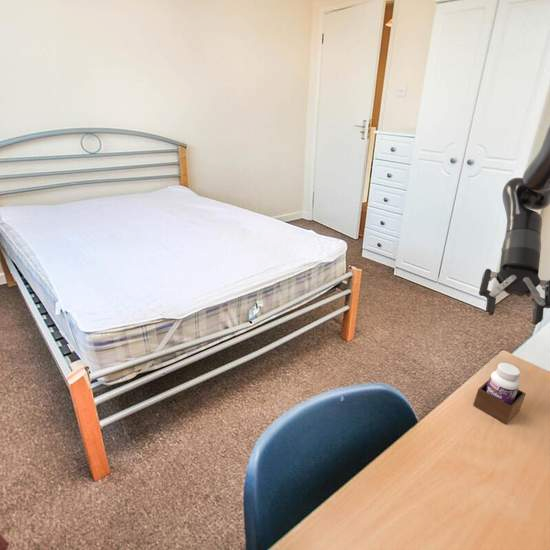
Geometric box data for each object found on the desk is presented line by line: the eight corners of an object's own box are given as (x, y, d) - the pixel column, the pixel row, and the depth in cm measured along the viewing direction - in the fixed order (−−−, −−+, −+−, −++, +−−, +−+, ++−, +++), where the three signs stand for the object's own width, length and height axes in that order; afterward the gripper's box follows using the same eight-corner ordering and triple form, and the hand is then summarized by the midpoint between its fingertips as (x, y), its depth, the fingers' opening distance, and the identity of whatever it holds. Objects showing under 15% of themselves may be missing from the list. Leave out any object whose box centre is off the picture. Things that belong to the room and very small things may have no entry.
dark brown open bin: (487, 392, 86) (492, 376, 85) (519, 410, 82) (526, 393, 80) (473, 405, 82) (478, 388, 81) (505, 424, 78) (512, 407, 76)
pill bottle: (479, 404, 82) (490, 368, 78) (486, 392, 85) (498, 357, 82) (506, 417, 79) (520, 380, 75) (513, 404, 82) (526, 368, 78)
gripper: (490, 240, 87) (480, 306, 82) (563, 251, 82) (558, 321, 77) (482, 255, 94) (473, 316, 89) (550, 265, 89) (544, 331, 84)
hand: (513, 319), depth 83 cm, fingers open, 8 cm apart
